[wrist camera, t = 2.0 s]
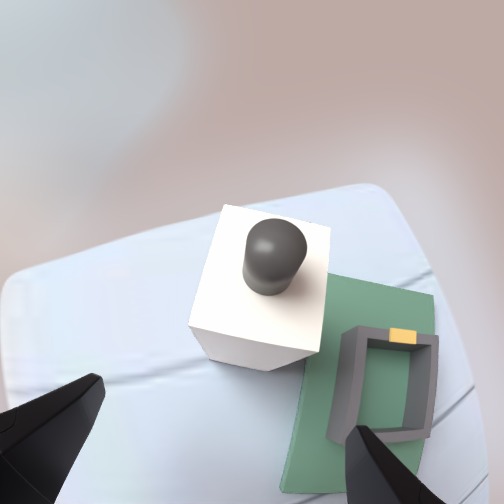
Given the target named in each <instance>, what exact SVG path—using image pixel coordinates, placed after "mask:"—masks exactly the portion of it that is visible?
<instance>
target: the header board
mask: <svg viewBox="0 0 504 504" xmlns="http://www.w3.org/2000/svg"><path fill="white" fill-rule="evenodd" d="M438 348H439V336H438V335H434V300H433V295H429V294H424V293H420V292H415V291H410V290H405V289H401V288H396V287H391V286H386V285H382V284H377V283H372V282H367V281H363V280H358V279H353V278H349V277H344V276H339V275H335V274H330V273H328V274H327V286H326V296H325V306H324V315H323V324H322V332H321V340H320V348H319V352H317V353H315V354H313V355H310V356H308V357H307V358H306V364H305V371H304V376H303V382H302V388H301V393H300V399H299V404H298V409H297V414H296V419H295V424H294V429H293V433H292V438H291V442H290V447H289V451H288V455H287V460H286V464H285V468H284V472H283V476H282V479H281V483H280V487H279V488H280V490H281V491H282V493H305V494H315V493H341V492H347V491H346V482H345V440H346V437H347V436H348V435H349V433H350V432H351V430H352V429H353V428H354V426H356V425H366V426H368V427H369V428H370V429H371V430H372V431H373V432H374V434H375V435H376V436H377V437H378V438H379V439H380V440H381V441H382V442H383V443H384V444H385V445H386V446H387V447H388V448H389V449H390V450H391V451H392V453H393V454H394V455H395V456H396V457H397V458H398V459H399V460H400V461H401V462H402V463H403V464H404V465H405V466H406V467H407V468H408V469H409V470H410V471H411V472H412V473H413V474H414V475H415V476H416V474H417V471H418V467H419V463H420V459H421V454H422V450H423V445H424V440H425V438H429V437H430V431H431V426H432V419H433V412H434V405H435V396H436V386H437V372H438Z"/></svg>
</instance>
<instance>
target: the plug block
mask: <svg viewBox="0 0 504 504" xmlns="http://www.w3.org/2000/svg"><path fill="white" fill-rule="evenodd" d="M329 245H330V228H329V227H325V226H321V225H317V224H313V223H309V222H304V221H300V220H296V219H291V218H287V217H283V216H278V215H274V214H269V213H265V212H260V211H255V210H251V209H246V208H241V207H236V206H231V205H226V204H224V207H223V210H222V213H221V216H220V219H219V222H218V225H217V228H216V232H215V235H214V238H213V241H212V244H211V248H210V251H209V254H208V257H207V261H206V264H205V267H204V271H203V274H202V278H201V281H200V284H199V288H198V291H197V295H196V298H195V302H194V305H193V309H192V313H191V316H190V320H189V324H188V326H189V327H190V329H191V331H192V332H193V334H194V336H195V337H196V339H197V341H198V342H199V344H200V345H201V347H202V349H203V350H204V352H205V353H206V355H207V356H208V358H209V359H210V360H214V361H218V362H223V363H227V364H232V365H236V366H241V367H246V368H251V369H256V370H261V371H267V372H268V371H271V370H273V369H276V368H279V367H282V366H284V365H287V364H290V363H292V362H295V361H297V360H300V359H303V358H305V357H308V356H310V355H313V354H315V353H317V352H319V348H320V340H321V332H322V324H323V315H324V306H325V296H326V286H327V274H328V260H329Z"/></svg>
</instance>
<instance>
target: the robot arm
mask: <svg viewBox="0 0 504 504" xmlns="http://www.w3.org/2000/svg"><path fill="white" fill-rule="evenodd" d="M104 397H105V387H104V383H103V378H102V377H101V376H99V375H97V374H94V373H90V374H88V375H86V376H84V377H81V378H79V379H77V380H75V381H73V382H71V383H69V384H67V385H64V386H62V387H60V388H58V389H56V390H54V391H51V392H49V393H47V394H45V395H43V396H40V397H38V398H36V399H34V400H31V401H29V402H27V403H25V404H22V405H20V406H18V407H15V408H13V409H11V410H8V411H6V412H3V413H0V504H54V503H55V500H56V498H57V496H58V494H59V492H60V490H61V488H62V486H63V484H64V482H65V480H66V478H67V476H68V474H69V472H70V470H71V468H72V466H73V464H74V462H75V460H76V458H77V456H78V454H79V452H80V450H81V448H82V446H83V444H84V443H85V441H86V439H87V437H88V435H89V433H90V431H91V429H92V427H93V425H94V422H95V420H96V417H97V415H98V412H99V410H100V407H101V405H102V402H103V400H104ZM345 482H346V491H347V501H348V504H446V503H444V502H443V501H442V500H441V499H439V498H438V497H437V496H436V495H435V494H433V493H432V492H431V491H430V490H429V489H428V488H427V487H426V486H425V485H424V484H423V483H421V481H420V480H419V479H418V478H417V477H416V476H415V475H414V474H413V473H412V472H411V471H410V470H409V469H408V468H407V467H406V466H405V465H404V464H403V463H402V462H401V461H400V460H399V459H398V458H397V457H396V456H395V455H394V454H393V453H392V451H391V450H390V449H389V448H388V447H387V446H386V445H385V444H384V443H383V442H382V441H381V440H380V439H379V438H378V437H377V436H376V435H375V434H374V432H373V431H372V430H371V429H370V428H369V427H368V426H366V425H356V426H354V428H353V429H352V430H351V432H350V433H349V435H348V436H347V437H346V440H345Z"/></svg>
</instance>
